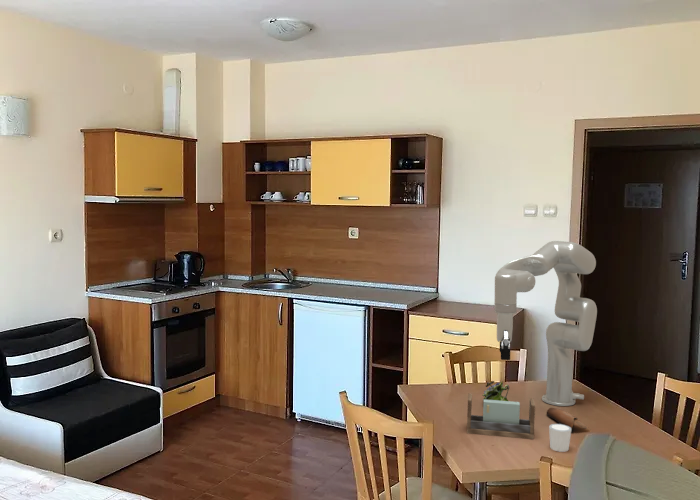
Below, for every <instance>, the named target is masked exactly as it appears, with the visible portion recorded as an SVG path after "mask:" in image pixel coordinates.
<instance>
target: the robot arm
mask: <svg viewBox="0 0 700 500" xmlns="http://www.w3.org/2000/svg"><path fill="white" fill-rule="evenodd" d="M596 266H597V260H596V258H595V255H594V254H593V252H591V251H589V250H588V249H587V248H585V247H584V246H582V245H581V244H579V243H577V242H574V241H561V240H560V241H559V240H553V241H549V242H546V243H545V244H544V245H543V246H542V247H540V248H539V249H538V250H537V251H535V252H534V253H533V254H530V255H527V256H523V257H521V258H516V259H514V260H512V261H509V262H507V263H506V264H504V265H503V266H502V267H500V268H499V269H498V270H497V271H496V274H495V276H494V307H493V308H494V310H493V311H494V313H495V314H497V315H496V341H497V342H499V352H500V360H502V361H510V360H511V344H510V343H512V341H513V340H512V338H513V328H514V327H513V325H514V323H513V322H514V315H515V314H517V308H518V307H517V303H518V301H517V299H518V298H517V297H518V296H517V294H518V293H528V292H530V291H533V289H534V287H535V285H536V277H538V276H543V275H546V274H548V272H550V271H551V270H552V269H554V272H555V273H556V276H557V279H558V287H557V293H556V297H555V298H556V299H555V304H554V315H555V316H556V317H557V318H559V319H561V320H565V321H571V322H578V325H577V324H572V323H567V322H566V323H565V322H559V321H555V322H552V323H550V324H548V325H547V328H546V331H545V338H546V339H545V340H546V345H547V366H546V367H547V368H546V369H547V370H546V390H545V394H543V395H542V396H541V400H542V401H543V402H544V403H546V404H549V405H552V406H558V407H570V406H573V405H575V404H576V400H582V401H584V399H585V395H584V394H583V393H582V394H580V392H574V391H573V389H572V388H573V365H574V357H573V355H572V351H571V350H574V351H578V352H586V351H588V350H589V349H590V347H591V346H592V343H593V338H594V333H595V328H596V323H597V322H596V321H597V315H598V308H597V305H596V302H595V301H594V300H592V299H590V298H587V297H581V291H582V283H581V280H580V278H579V276H578V275H577V274H579V275H589V274H591V273H593V272H594V270H595V268H596Z"/></svg>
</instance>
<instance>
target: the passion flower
mask: <svg viewBox="0 0 700 500" xmlns="http://www.w3.org/2000/svg"><path fill="white" fill-rule="evenodd" d="M494 383H495V380H490V381H488V382H486V384H485V388H486V389H485V390H483V394H482V397H483V398H482V401H483V402H484V399H486V400H499V401H509V399H508V398H507V396H508V393H509V390H510V386H509V384H505V385H504V381H500V382H498V381H497V382H496V383H495V384H494ZM503 385H504V386H503ZM487 387H488V388H487ZM503 391H506V394H505V395H503Z"/></svg>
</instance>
